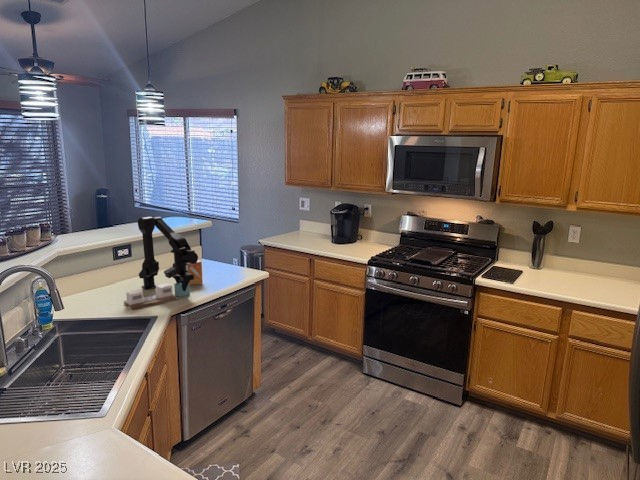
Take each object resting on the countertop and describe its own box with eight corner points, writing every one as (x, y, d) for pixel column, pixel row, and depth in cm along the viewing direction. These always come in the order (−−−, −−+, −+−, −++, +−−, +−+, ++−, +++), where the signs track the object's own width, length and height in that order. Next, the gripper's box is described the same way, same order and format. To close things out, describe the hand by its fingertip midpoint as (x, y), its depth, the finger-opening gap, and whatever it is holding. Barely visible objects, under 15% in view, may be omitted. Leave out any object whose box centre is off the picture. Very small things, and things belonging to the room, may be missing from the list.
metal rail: (126, 302, 219) (125, 301, 219) (168, 292, 234) (168, 291, 234) (130, 305, 215) (130, 304, 215) (173, 295, 229) (173, 294, 229)
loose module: (174, 294, 236) (174, 283, 234) (185, 292, 240) (184, 281, 238) (179, 296, 232) (178, 285, 231) (189, 294, 236) (189, 283, 235)
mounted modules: (126, 301, 219) (126, 291, 218) (167, 292, 233) (167, 283, 232) (131, 304, 215) (130, 294, 214) (173, 295, 229) (172, 285, 228)
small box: (189, 285, 250) (187, 263, 248) (185, 283, 256) (184, 261, 253) (203, 283, 255) (201, 261, 252) (199, 280, 260) (198, 259, 257)
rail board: (124, 303, 222) (123, 301, 221) (166, 294, 236) (166, 291, 236) (133, 310, 213) (132, 307, 213) (176, 299, 228) (176, 297, 227)
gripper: (157, 260, 233) (159, 289, 237) (173, 267, 220) (175, 297, 223) (177, 257, 241) (179, 284, 244) (193, 263, 227) (195, 292, 231)
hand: (182, 289), depth 235 cm, fingers closed on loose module, 5 cm apart
